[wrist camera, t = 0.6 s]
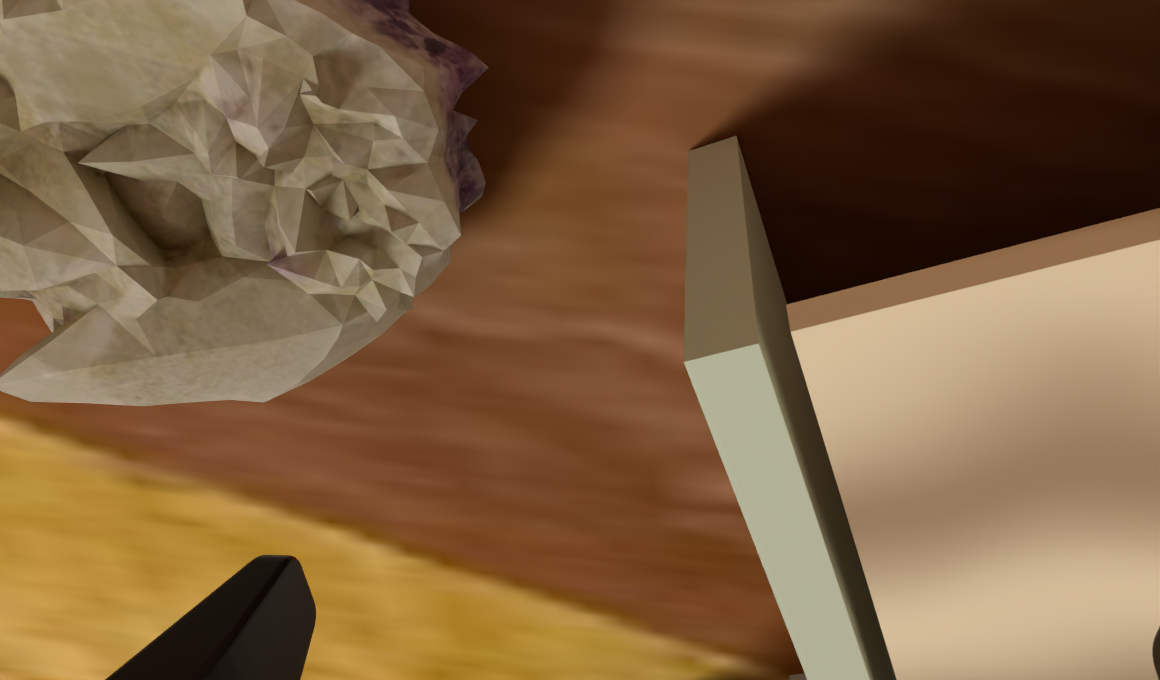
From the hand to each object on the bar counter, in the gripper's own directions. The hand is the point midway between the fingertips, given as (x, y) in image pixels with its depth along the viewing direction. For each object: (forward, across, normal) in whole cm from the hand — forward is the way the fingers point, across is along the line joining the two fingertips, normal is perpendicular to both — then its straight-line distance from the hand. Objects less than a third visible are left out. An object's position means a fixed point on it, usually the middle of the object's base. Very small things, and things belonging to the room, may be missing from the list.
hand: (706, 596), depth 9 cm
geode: (+14, +14, -1) cm, 20 cm away
